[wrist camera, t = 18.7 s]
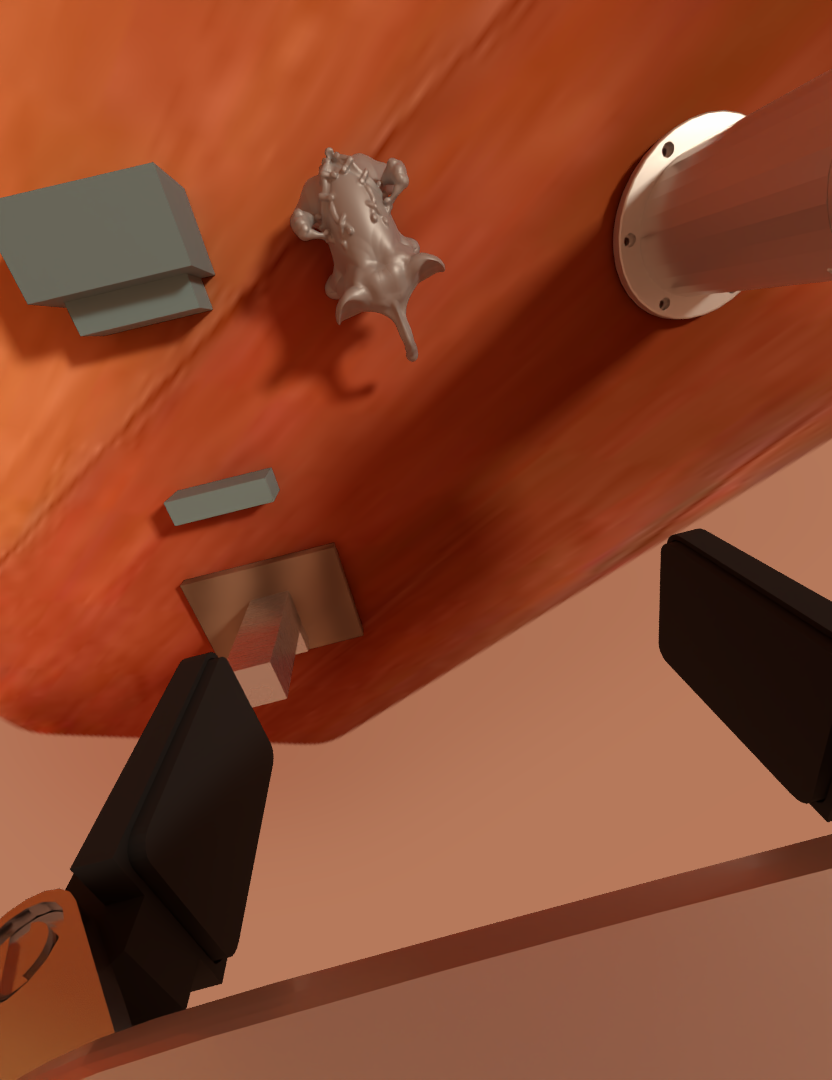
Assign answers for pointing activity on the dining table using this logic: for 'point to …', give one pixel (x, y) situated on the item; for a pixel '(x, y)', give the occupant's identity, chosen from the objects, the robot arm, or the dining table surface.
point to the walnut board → (301, 573)
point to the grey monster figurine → (364, 238)
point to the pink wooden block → (268, 648)
